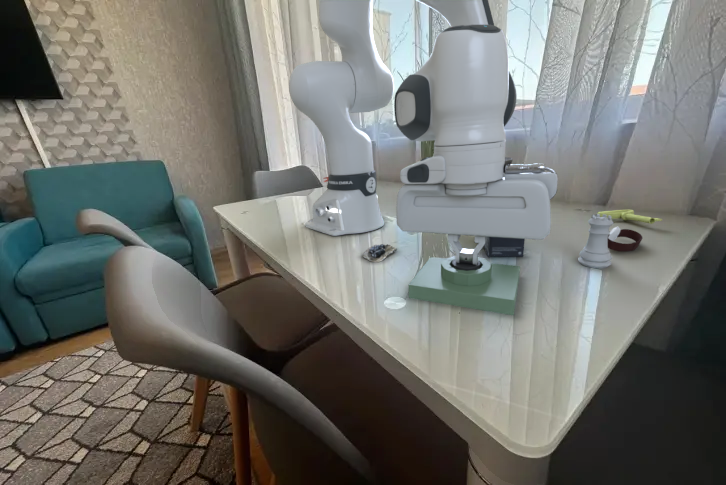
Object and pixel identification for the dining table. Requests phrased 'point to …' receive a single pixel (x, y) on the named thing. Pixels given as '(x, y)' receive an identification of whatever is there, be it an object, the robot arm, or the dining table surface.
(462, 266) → the spray button
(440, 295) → the button box
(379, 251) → the blueberries
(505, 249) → the small box
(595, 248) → the rook chess piece
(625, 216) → the yellow-green branched tube
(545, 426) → the dining table surface
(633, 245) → the watch
